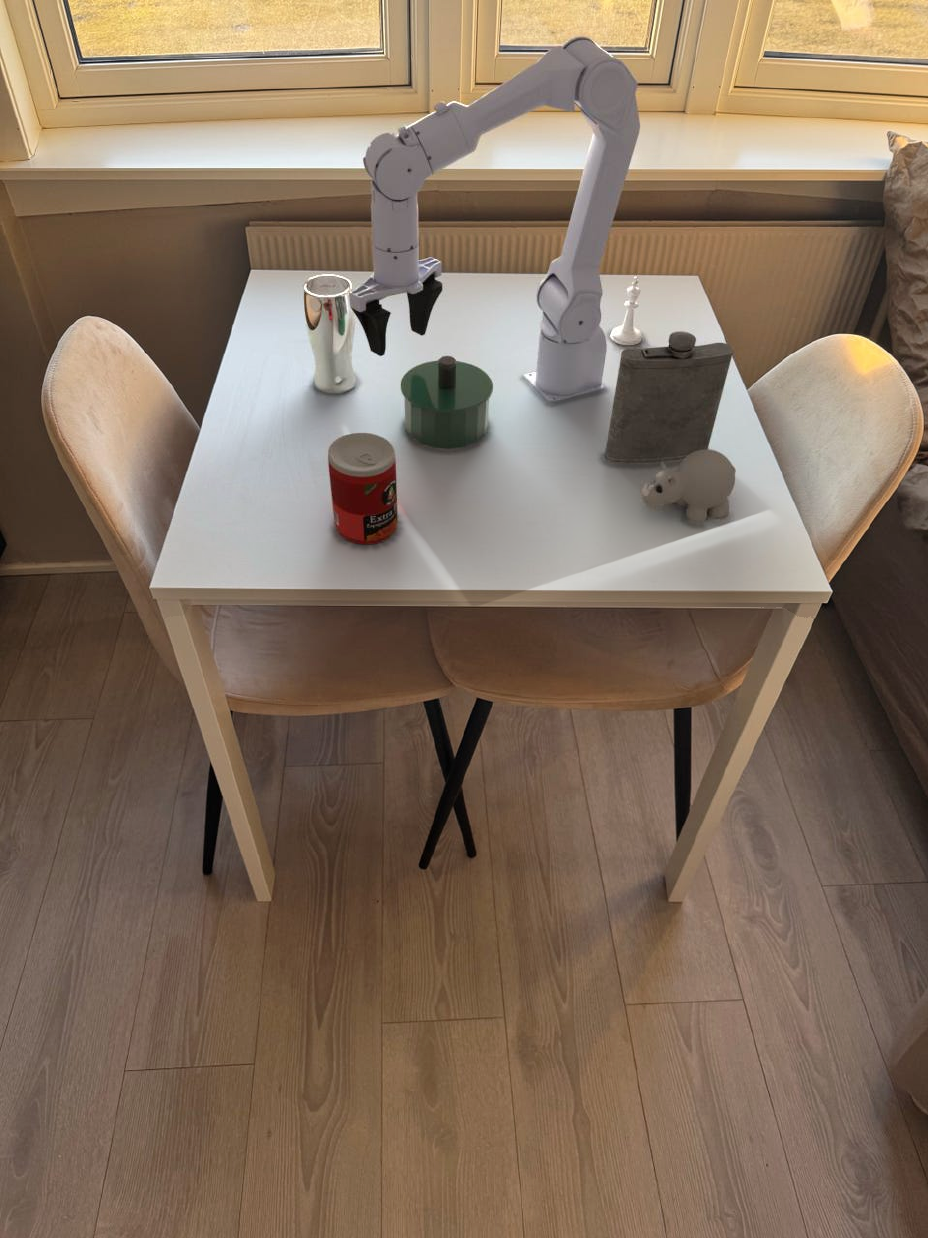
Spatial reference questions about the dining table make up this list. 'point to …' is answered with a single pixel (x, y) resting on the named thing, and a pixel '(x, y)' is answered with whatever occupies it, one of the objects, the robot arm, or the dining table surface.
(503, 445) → the dining table surface
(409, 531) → the dining table surface
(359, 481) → the canned food
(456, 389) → the lid
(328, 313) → the beer glass
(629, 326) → the chess piece
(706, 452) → the toy rhinoceros
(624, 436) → the flask
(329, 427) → the dining table surface
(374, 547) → the dining table surface
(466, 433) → the pot
